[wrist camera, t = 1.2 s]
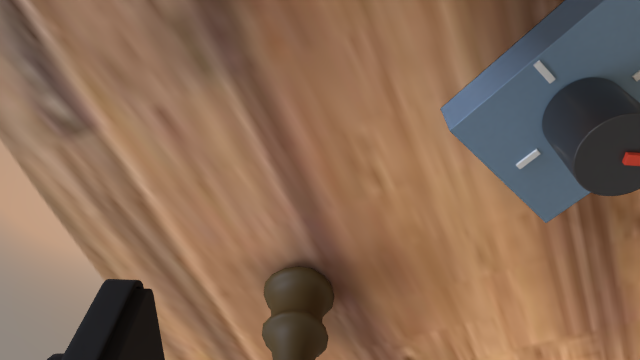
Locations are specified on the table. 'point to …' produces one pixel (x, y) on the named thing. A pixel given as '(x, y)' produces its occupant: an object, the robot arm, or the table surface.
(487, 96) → the dimmer panel
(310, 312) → the kendama
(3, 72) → the table surface
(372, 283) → the table surface
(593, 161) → the dimmer knob
